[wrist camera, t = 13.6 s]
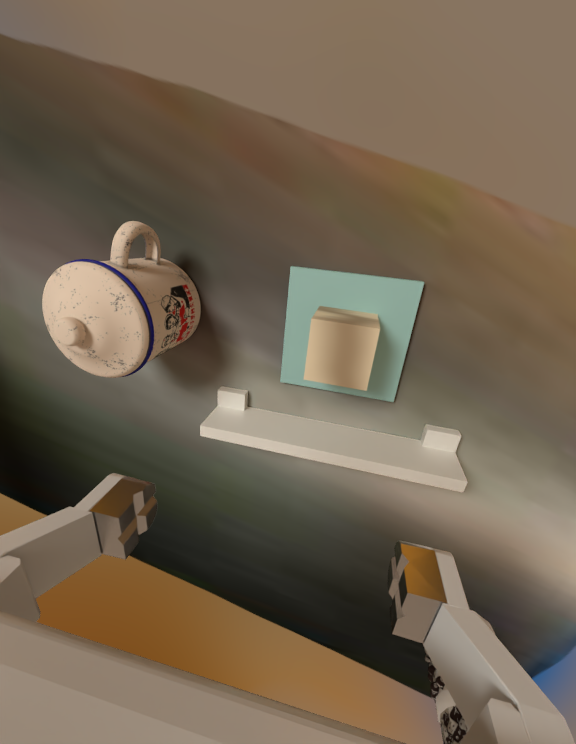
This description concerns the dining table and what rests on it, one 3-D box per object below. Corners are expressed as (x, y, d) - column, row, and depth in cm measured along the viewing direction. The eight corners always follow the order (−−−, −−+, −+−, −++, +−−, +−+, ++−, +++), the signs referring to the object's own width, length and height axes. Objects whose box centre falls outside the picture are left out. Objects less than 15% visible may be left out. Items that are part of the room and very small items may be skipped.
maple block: (312, 358, 30) (303, 379, 25) (319, 305, 28) (311, 318, 23) (366, 367, 29) (366, 390, 25) (377, 314, 27) (380, 328, 23)
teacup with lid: (194, 358, 33) (117, 413, 23) (118, 326, 34) (8, 365, 24) (221, 243, 28) (137, 245, 18) (130, 207, 29) (-3, 188, 18)
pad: (281, 379, 32) (280, 381, 32) (292, 266, 28) (290, 266, 27) (393, 399, 30) (393, 402, 30) (423, 281, 26) (424, 282, 25)
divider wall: (221, 425, 36) (200, 451, 31) (221, 385, 34) (199, 408, 29) (443, 471, 32) (456, 509, 28) (458, 430, 30) (475, 463, 26)
